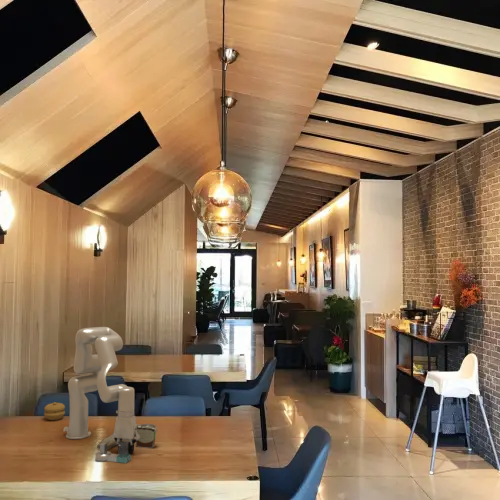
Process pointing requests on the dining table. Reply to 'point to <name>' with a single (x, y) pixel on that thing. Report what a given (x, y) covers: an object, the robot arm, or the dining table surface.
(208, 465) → the dining table surface
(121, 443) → the brushed metal cube
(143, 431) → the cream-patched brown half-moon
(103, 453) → the ratchet
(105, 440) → the elongated rock
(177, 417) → the dining table surface
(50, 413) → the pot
